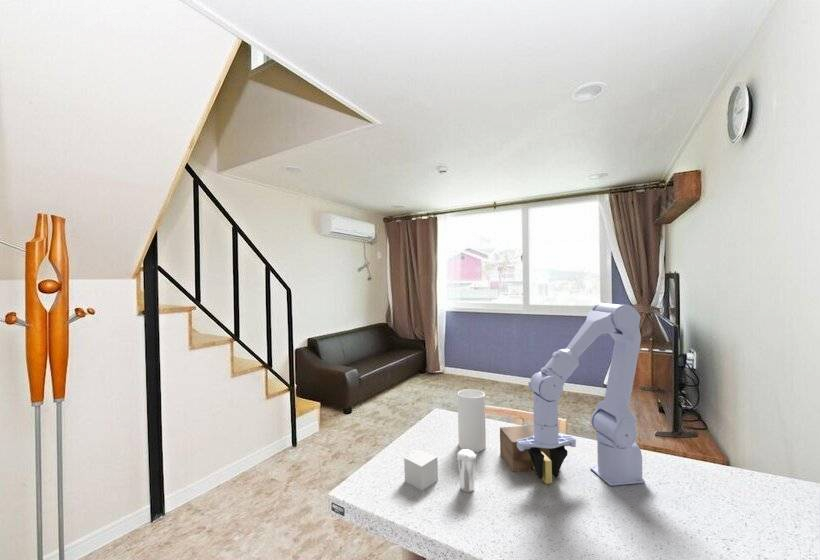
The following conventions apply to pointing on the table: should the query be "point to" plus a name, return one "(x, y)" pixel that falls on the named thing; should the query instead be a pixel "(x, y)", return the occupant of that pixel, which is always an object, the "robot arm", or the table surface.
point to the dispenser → (509, 447)
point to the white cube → (421, 469)
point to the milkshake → (466, 469)
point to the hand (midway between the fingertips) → (546, 476)
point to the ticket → (545, 469)
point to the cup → (471, 420)
